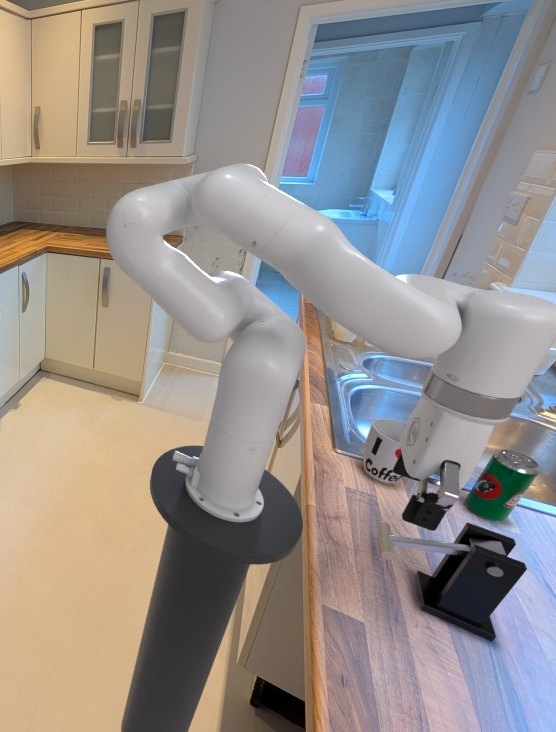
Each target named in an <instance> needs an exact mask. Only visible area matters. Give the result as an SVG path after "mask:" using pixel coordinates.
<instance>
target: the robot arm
mask: <svg viewBox="0 0 556 732" xmlns="http://www.w3.org/2000/svg"><path fill="white" fill-rule="evenodd" d="M200 226H207V227H208V228H209V229H211V230H213V231H214V232H216V233H217V234H219V235H221V236H222V237H224V238H225V239H227V240H228V241H230V242H232V243H233V244H235V245H237V246H238V247H240V248H242V249H243V250H244V251H246V252H248V253H250V255H253V256H254V257H256V258H257V259H259V260H260V261H262V262H264V264H266V265H268V266H269V267H271V268H273V269H275V271H277V272H278V273H279V274H280V275H282V277H283V278H284V279H285V280H286V281H287V282H288V283H289V284H290V285H291V286H292V287H293V288H295V290H297V291H298V292H299V293H300V294H301V295H302V296H303V297H304V298H306V300H308V301H309V303H311V304H312V305H313V306H314V307H315V308H316V309H317V310H319V311H320V312H321V313H322V314H324V315H325V316H327V317H328V318H329V319H330V320H332V321H333V322H335V323H336V324H338V325H340V327H343V328H344V329H345V330H347V331H349V332H350V333H352V334H353V335H355V336H356V337H358V338H359V339H362V340H363V341H365V342H366V343H368V344H369V345H371V346H372V347H374V348H376V349H377V350H379V351H382V352H384V353H387V354H389V355H392V356H394V357H398V358H402V359H410V360H422V359H423V360H424V359H428V358H434V357H436V358H435V360H434V362H433V364H432V366H431V368H430V370H429V372H428V374H427V377H426V379H425V381H424V383H423V385H422V388H421V390H420V394H421V396H420V399H419V400H418V401H417V403H416V404H415V407H414V408H413V410H412V411H411V413H410V415H409V417H408V419H407V420H406V422H405V423H406V424H405V426H404V428H403V430H402V432H401V434H400V438H399V442H400V447H401V454H400V456H399V458H398V460H397V462H396V464H395V466H394V468H393V472H394V473H395V474H398V475H401V476H404V477H403V478H407V479H409V480H413V481H416V482H418V487H417V491H416V494H411V497H410V498H409V500H408V502H407V504H406V506H405V508H404V510H403V511H402V513H401V518H402V521H404V522H406V523H410V524H412V525H414V526H417V527H420V528H422V529H426V530H428V531H430V532H431V531H432V532H434V531H436V530H437V529H438V527H439V525H440V524H441V522H442V520H443V518H444V517H445V515H446V513H447V512H449V511H450V510H451V508H453V506H454V505H455V503H456V502H457V501H459V498H460V490H462V489H463V488H464V487H465V486H466V484H467V483H468V482H469V480H470V478H471V476H472V475H473V473H474V471H475V470H476V468H477V466H478V464H479V462H480V460H481V458H482V456H483V454H484V452H485V450H486V447H487V445H488V443H489V441H490V439H491V436H492V433H493V431H494V428H495V426H496V424H502V423H506V422H507V421H508V420H509V419H510V417H511V414H512V413H513V411H514V409H515V408H516V406H517V405H518V403H519V402H520V399H521V398H522V396H523V395H524V393H525V392H526V390H527V388H528V387H529V385H530V383H531V381H532V380H533V378H534V377H535V375H536V373H537V371H538V369H539V368H540V367H541V365H542V363H543V362H544V360H545V358H546V356H547V354H548V353H549V351H550V350H551V348H552V346H553V344H554V342H555V341H556V303H554V302H551V301H550V300H547V299H544V298H541V297H538V296H535V295H530V294H526V293H520V292H514V291H508V290H496V289H492V290H491V289H490V290H489V289H487V290H486V289H482V288H477V287H473V286H468V285H464V284H460V283H457V282H454V281H451V280H447V279H443V278H439V277H436V276H431V275H427V274H418V273H408V274H407V273H405V274H400V275H396V276H395V275H394V274H392V273H390V272H388V271H387V270H385V269H384V268H382V267H381V266H379V265H378V264H376V263H375V262H374V261H372V260H371V259H369V258H368V257H367V256H365V255H364V254H363V253H361V251H360V250H358V249H357V248H356V247H355V246H354V245H353V244H352V243H351V242H350V241H349V240H348V238H347V237H346V236H345V234H344V233H343V232H342V230H341V229H340V228H339V226H338V225H337V224H336V223H335V222H334V221H333V220H331V219H330V217H328V216H326V215H325V214H323V213H321V212H320V211H318V210H316V209H314V208H312V207H310V206H309V205H306V204H305V203H303V202H301V201H299V200H298V199H297V198H295V197H293V196H291V195H288V194H287V193H285V192H283V191H282V190H279V189H278V188H277V187H275V186H274V185H271V184H269V181H268V178H267V176H266V175H265V173H264V172H263V170H261V169H260V168H258V167H257V166H254V165H252V164H248V163H234V164H230V165H225V166H223V167H222V166H221V167H219V168H216V169H214V170H209V171H206V172H201V173H197V174H193V175H189V176H185V177H181V178H175V179H172V180H167V181H163V182H160V183H156V184H152V185H148V186H144V187H140V188H137V189H134V190H132V191H130V192H127V193H126V194H125V195H123V196H122V197H121V198H119V199H118V200H117V201H116V202H115V204H114V205H113V207H112V209H111V210H110V212H109V215H108V217H107V223H106V231H105V237H106V244H107V247H108V251H109V254H110V256H111V257H112V260H113V261H114V263H115V264H116V265H117V267H118V268H119V269H120V270H121V271H122V272H123V273H124V274H125V275H126V276H127V277H128V278H129V279H130V280H131V281H133V282H134V283H135V284H136V285H137V286H138V287H140V289H141V290H143V291H144V292H145V293H146V295H148V296H149V297H150V298H151V299H152V301H153V302H154V303H155V304H156V305H158V306H159V308H160V309H161V310H163V312H165V314H166V315H168V316H169V318H171V319H172V320H173V321H174V322H175V323H176V324H177V325H178V326H179V327H180V328H181V329H182V330H183V331H184V332H185V333H186V334H187V335H188V336H189V337H191V339H194V340H195V341H197V342H201V343H203V344H215V343H218V342H221V341H223V340H224V339H226V338H227V337H228V339H229V340H231V342H232V344H231V345H230V347H229V348H228V350H227V351H226V353H225V355H224V357H223V360H222V362H221V366H220V369H219V373H218V382H217V389H216V393H215V398H214V402H213V406H212V410H211V414H210V418H209V423H208V427H207V431H206V435H205V438H204V443H203V445H202V446H203V450H202V453H201V454H200V457H199V458H197V457H194V456H193V458H191V457H189V456H186V455H185V454H182V453H180V452H177V451H175V453H174V456H173V461H175V462H178V464H177V466H176V470H177V471H180V472H182V473H186V478H185V486H186V490H187V492H188V494H189V496H190V497H191V498H192V500H193V501H194V502H195V503H196V504H197V505H198V506H199V507H201V508H202V509H203V510H204V511H206V512H208V513H209V514H211V515H213V516H215V517H218V518H220V519H223V520H226V521H231V522H249V521H252V520H254V519H256V518H257V517H259V515H260V514H261V512H262V509H263V506H264V500H263V496H262V494H261V492H260V490H259V489H258V487H259V484H260V481H261V478H262V475H263V472H264V470H266V467H267V464H268V461H269V458H270V455H271V452H272V449H273V447H274V443H275V441H276V437H277V434H278V431H279V429H280V426H281V422H282V420H283V416H284V414H285V411H286V409H287V405H288V403H289V400H290V397H291V395H292V393H293V390H294V387H295V384H296V382H297V379H298V376H299V374H300V370H301V369H302V364H303V360H304V358H305V355H306V351H307V339H306V335H305V333H304V331H303V330H302V328H301V327H300V326H299V324H298V323H296V321H294V319H293V318H292V317H290V316H289V315H288V314H287V313H286V312H285V311H284V310H282V308H280V306H278V305H277V304H276V303H275V302H274V301H272V300H271V298H269V297H268V296H267V295H266V294H265V293H263V292H262V290H260V289H259V288H258V287H257V286H255V285H254V284H253V283H252V282H251V281H249V280H248V279H247V278H245V277H243V276H242V275H240V274H238V273H236V272H232V271H227V270H216V271H212V272H209V273H206V272H205V271H203V270H202V269H201V268H200V267H199V266H198V265H197V264H195V263H194V261H192V260H191V259H190V257H188V256H187V255H186V254H185V253H183V252H182V251H180V250H178V249H177V248H175V247H173V246H171V245H170V244H169V243H167V242H166V241H165V239H164V236H165V235H167V234H169V233H171V232H174V231H177V230H181V229H187V228H194V227H200ZM182 464H184V465H182ZM185 465H186V466H189V467H190V468H189V467H186V466H185ZM433 475H435V476H437V477H439V479H436V478H432V477H431V476H433ZM429 484H430V485H433V486H435V487H439V488H438V490H437V491H436V492H428V488H429Z"/></svg>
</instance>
